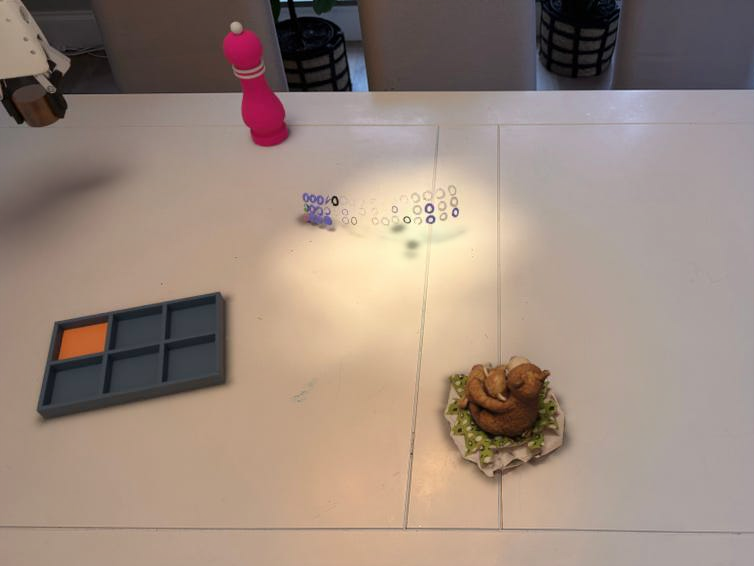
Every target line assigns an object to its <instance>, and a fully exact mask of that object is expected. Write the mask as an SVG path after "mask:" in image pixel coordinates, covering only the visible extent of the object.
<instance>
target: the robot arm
mask: <svg viewBox="0 0 754 566" xmlns="http://www.w3.org/2000/svg"><path fill="white" fill-rule="evenodd" d="M49 60H50V61H51V62H53V63H54V64H55V66H54V67H53V70H52V71H51V69H50V65H49V62H48V61H49ZM71 65H72V60H71V58H69V57H68V56H67V55H65V54H63V53H62V52H60V51H59V50H57V49H56V48H54V47H53V46H51V45H50V44H49V42H48V40H47V39H46V36H45V35H44V33H43V32H42V30H41V28H40V27H39V25H38V24H37V22H36V21H35V19H34V18H33V16H32V15H31V13H30V11H29V10H28V9H27V7H26V6H25V5H24V3H23V1H21V0H0V102H1V103H0V104H2V106H3V108H4V109H5V110H6V112H7V114H8V115H9V117H11V118H13V119H14V122H16V124H17V125H23V124H24V123H25V121H24V119H23V118H22V116H21V114H20V113H19V111H18V109H17V108H16V106H15V104H14V103H13V101H12V99H11V95H12V94H13V93H14V92H15V91H14V90H13V89H12V88H9V87H7V82H6V79H16V78H22V77H30V76H33V77H34V78H35V80H37V82H38V84H39V85H42V86H43V87H44V88H45V89H46V98H47V99H48V101H49V103H50V105H51V107H52V108H53V110H54V112H55V114H56V115H57V117H58V118H60V119H59V120H61V119H65V116H66V112H67V110H68V109H69V105H68V102H67V100H66V99H65V96H64V94H63V93H62V91H61V89H60V86H59V85H60V83H61V81H62V79H63V77H64V76H65V74H67V72H68V70H69V69H70V67H71Z"/></svg>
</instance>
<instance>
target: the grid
mask: <svg viewBox="0 0 754 566" xmlns="http://www.w3.org/2000/svg"><path fill="white" fill-rule="evenodd" d="M225 302H226V301H225V298H224V297H223V294H222V292H221V291H215V292H209V293H203V294H199V295H193V296H187V297H181V298H177V299H172V300H166V301H165V300H164V301H161V302H154V303H150V304H144V305H138V306H134V307H127V308H124V309H123V308H121V309H117V310H111V311H105V312H101V313H96V314H95V313H94V314H89V315H83V316H78V317H73V318H68V319H62V320H58V321H54V323H53V328H52V333H51V337H50V343H49V347H48V353H47V357H46V362H45V366H44V373H43V376H42V382H41V387H40V391H39V397H38V402H37V406H36V412H37V414H39V415H40V416H41V417H42V418H43V419H44V420H48V419H53V418H59V417H63V416H68V415H75V414H78V413H85V412H88V411H94V410H98V409H103V408H108V407H113V406H118V405H123V404H124V405H125V404H129V403H133V402H139V401H145V400H148V399H153V398H158V397H163V396H169V395H174V394H178V393H183V392H188V391H194V390H197V389H204V388H209V387H214V386H218V385H219V386H220V385H223V384H226V380H225V379H226V373H225V372H226V371H225V370H226V365H225V359H226V357H225V355H226V353H225V351H226V350H225V349H226V347H225V346H226V345H225V343H226V342H225V341H226V340H225V337H226V336H225V335H226V334H225V332H226V331H225V330H226V329H225V327H226V326H225V322H226V321H225V319H226V317H225V316H226V315H225V314H226V313H225V312H226V311H225V308H226V307H225Z"/></svg>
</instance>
